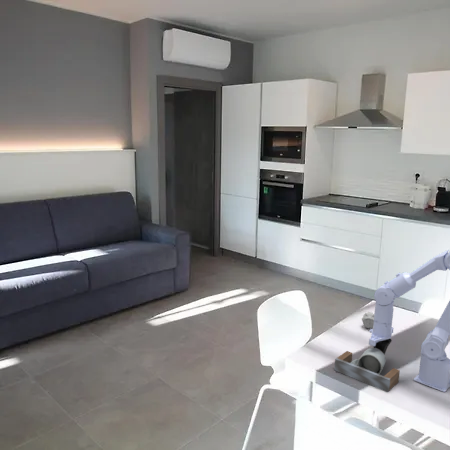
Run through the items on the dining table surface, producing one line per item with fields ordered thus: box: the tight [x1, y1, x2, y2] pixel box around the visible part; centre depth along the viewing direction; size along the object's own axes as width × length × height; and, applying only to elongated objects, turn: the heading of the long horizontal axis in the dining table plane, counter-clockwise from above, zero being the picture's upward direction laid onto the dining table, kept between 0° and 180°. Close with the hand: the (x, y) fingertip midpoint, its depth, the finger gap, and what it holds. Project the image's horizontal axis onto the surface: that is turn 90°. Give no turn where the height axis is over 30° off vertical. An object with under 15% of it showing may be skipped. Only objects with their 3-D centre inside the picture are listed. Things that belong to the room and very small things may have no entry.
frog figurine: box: [361, 311, 374, 329], centre depth 177 cm, size 6×7×7 cm
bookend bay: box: [334, 350, 400, 393], centre depth 141 cm, size 18×8×4 cm, turn 47°
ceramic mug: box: [351, 347, 386, 375], centre depth 144 cm, size 11×8×8 cm
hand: (379, 358), depth 148 cm, fingers closed
